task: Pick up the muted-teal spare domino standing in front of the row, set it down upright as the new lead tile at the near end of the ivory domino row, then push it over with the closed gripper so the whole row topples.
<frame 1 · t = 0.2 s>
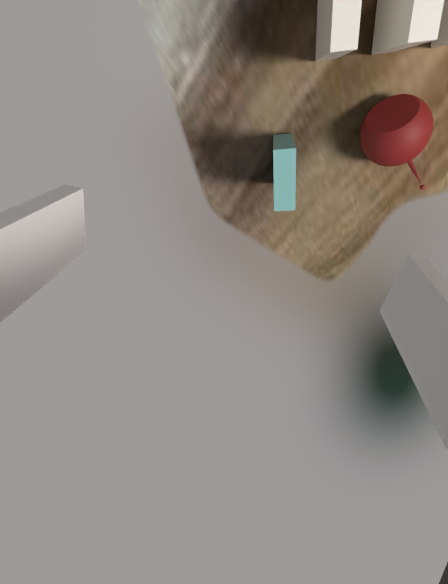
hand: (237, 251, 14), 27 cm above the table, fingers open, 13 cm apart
spare domino: (282, 159, 37), on the table
domino 2: (385, 19, 30), on the table
domino 1: (326, 26, 30), on the table
fruit: (391, 140, 35), on the table
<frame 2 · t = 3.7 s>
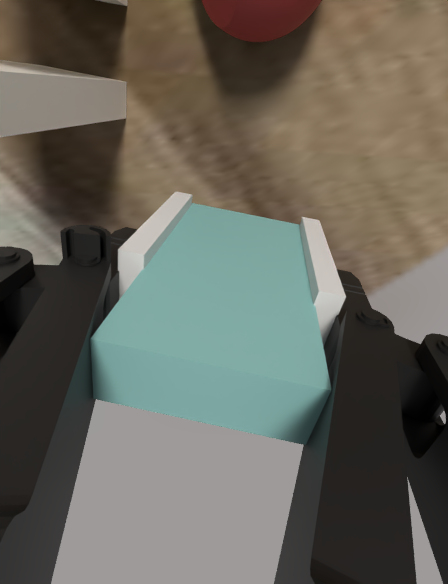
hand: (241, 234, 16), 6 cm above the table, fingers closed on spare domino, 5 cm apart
spare domino: (241, 232, 16), point 5 cm above the table, touching gripper
domino 1: (83, 92, 19), on the table
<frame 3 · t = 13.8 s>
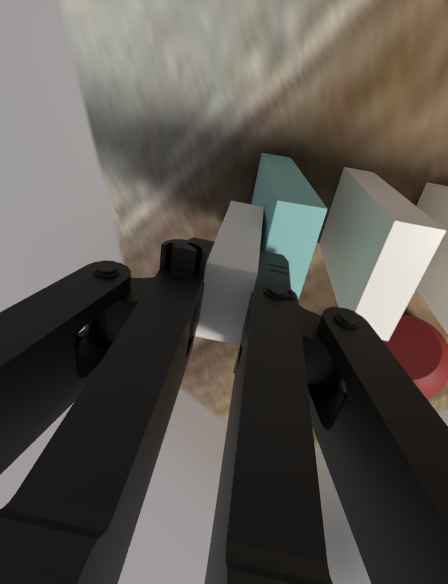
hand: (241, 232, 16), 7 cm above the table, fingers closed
spare domino: (267, 196, 22), on the table, tilted 5°
domino 2: (423, 224, 21), on the table
domino 1: (344, 209, 22), on the table
fruit: (390, 347, 27), on the table
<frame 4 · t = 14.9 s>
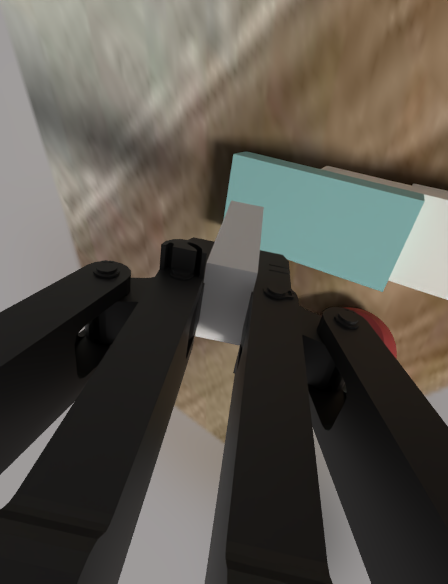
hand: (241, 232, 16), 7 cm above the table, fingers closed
spare domino: (233, 195, 21), point 1 cm above the table, tilted 70°, touching domino 1
domino 1: (311, 209, 21), point 1 cm above the table, tilted 70°, touching domino 2, spare domino
fruit: (344, 341, 27), on the table
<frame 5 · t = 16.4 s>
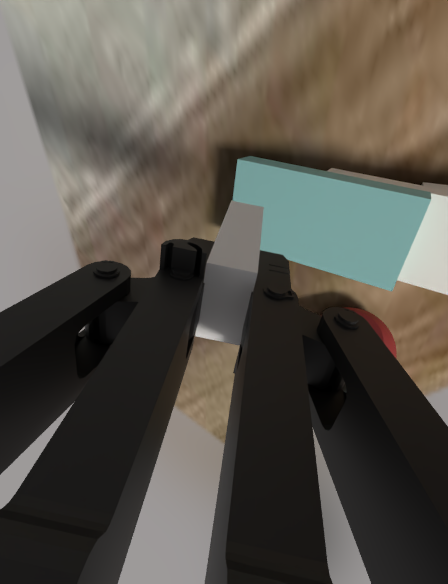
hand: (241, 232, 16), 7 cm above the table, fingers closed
spare domino: (238, 199, 21), point 1 cm above the table, tilted 70°, touching domino 1
domino 1: (317, 211, 21), point 1 cm above the table, tilted 70°, touching spare domino
fruit: (343, 341, 27), on the table
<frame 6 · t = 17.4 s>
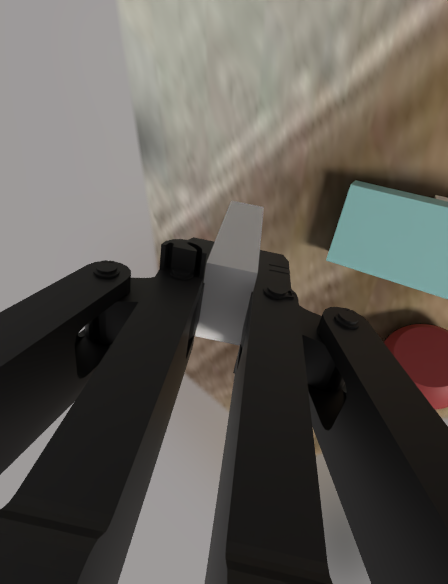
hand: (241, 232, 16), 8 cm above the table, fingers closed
spare domino: (340, 221, 22), point 1 cm above the table, tilted 70°, touching domino 1
fruit: (411, 355, 28), on the table
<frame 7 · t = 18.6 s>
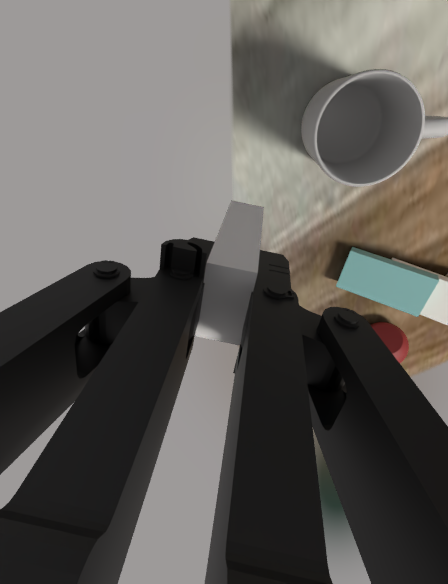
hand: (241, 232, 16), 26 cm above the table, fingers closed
spare domino: (343, 266, 43), point 1 cm above the table, tilted 71°, touching domino 1
domino 1: (383, 277, 43), point 1 cm above the table, tilted 71°, touching domino 2, spare domino
mug: (358, 124, 36), on the table
fruit: (378, 340, 49), on the table
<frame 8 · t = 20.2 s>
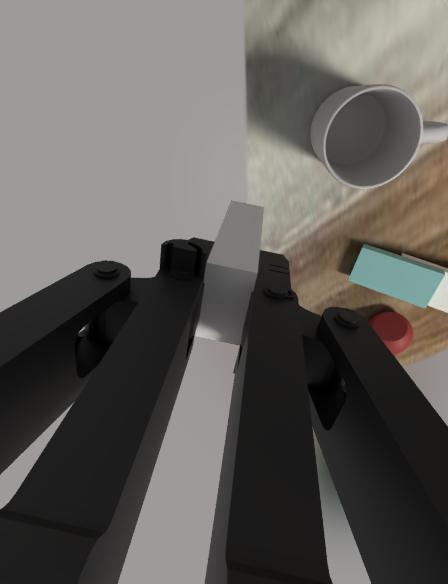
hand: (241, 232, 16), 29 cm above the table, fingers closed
spare domino: (355, 262, 46), point 1 cm above the table, tilted 71°, touching domino 1
domino 1: (393, 271, 46), point 1 cm above the table, tilted 73°, touching domino 2, spare domino
mug: (363, 128, 39), on the table
fruit: (384, 328, 52), on the table
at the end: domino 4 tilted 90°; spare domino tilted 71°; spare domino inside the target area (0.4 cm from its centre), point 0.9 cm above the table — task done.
